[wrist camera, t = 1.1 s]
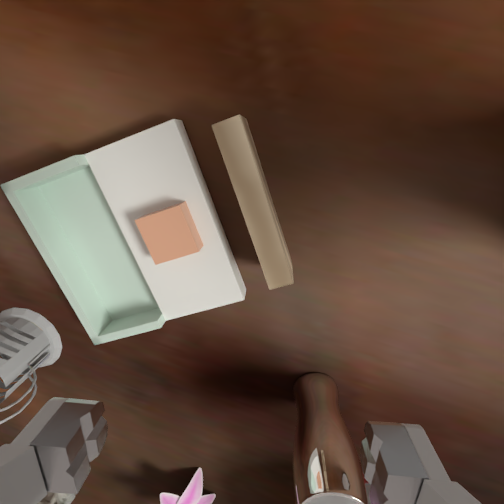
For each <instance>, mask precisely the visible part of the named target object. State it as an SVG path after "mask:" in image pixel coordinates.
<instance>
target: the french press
mask: <svg viewBox="0 0 504 504" xmlns="http://www.w3.org/2000/svg"><path fill="white" fill-rule="evenodd" d="M61 350H62V343H61V339H60V335H59V334H58V332H57V331H56V329H55V327H54V326H53V324H52V323H50V322H49V321H48V320H47V319H45V318H44V317H43V316H42V315H40V314H38V313H36V312H33V311H31V310H29V309H23V308H11V309H8V310H5V311H2V312H1V313H0V356H1V357H2V358H3V359H2V358H0V377H1V378H2V379H3V381H4V383H2V382H1V380H0V388H3V389H8V388H10V389H9V390H8V391H7V392H3V393H0V396H3V395H5V397H4V398H2V399H0V403H1V402H3V401H4V400H5V399H6V398H7V397H8V396H9V395H10V394H11V393H12V392H13V391H14V390H15V389H16V388H17V387H18V386H19V385H20V384H21V383H23V382H24V381H25V380H26V379H27V378H29V379H30V380H31V381H32V382H33V383H32V385H31V387H30V388H29V390H28V391H27V392H26V393H25V394H24V395H23V396H22V397H21V398H20V399H18V400H17V401H15V402H14V403H12V404H10V405H9V406H7V407H6V408H3V409H1V410H0V412H1V411H4V410H6V409H9V408H10V407H12V406H13V405H15V404H16V403H18V402H19V401H21V400H22V399H23V398H24V397H25V396H26V395H27V394H28V393H29V392H30V391H31V390H32V388H33V386H34V388H35V389H34V391H33V394H32V396H31V398H30V399H29V400H28V401H27V402H26V404H25V405H24V406H23V407H22V408H21V409H20V410H19V411H17V412H16V413H14V414H13V415H12V416H10V417H8V418H6V419H4V420H2V421H0V424H1V423H4V422H5V421H7V420H9V419H11V418H12V417H14V416H16V415H17V414H19V413H20V412H22V411H23V409H24V408H25V407H26V406H27V405H28V404H29V403H30V402H31V401H32V399H33V397H34V396H35V394H36V390H37V385H36V379H37V376H36V372H35V370H36V369H37V368H38V367H44V366H47V365H51V364H53V363H54V362H55V361H56V360H57V359H58V358H59V357H60V354H61ZM32 373H33V374H34V380H33V378H32V377H31V374H32ZM23 374H25V375H24V376H23V377H19V378H17V377H18V376H19V375H23ZM15 381H18V382H17V383H16V384H12V385H9V384H10V383H11V382H15Z"/></svg>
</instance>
